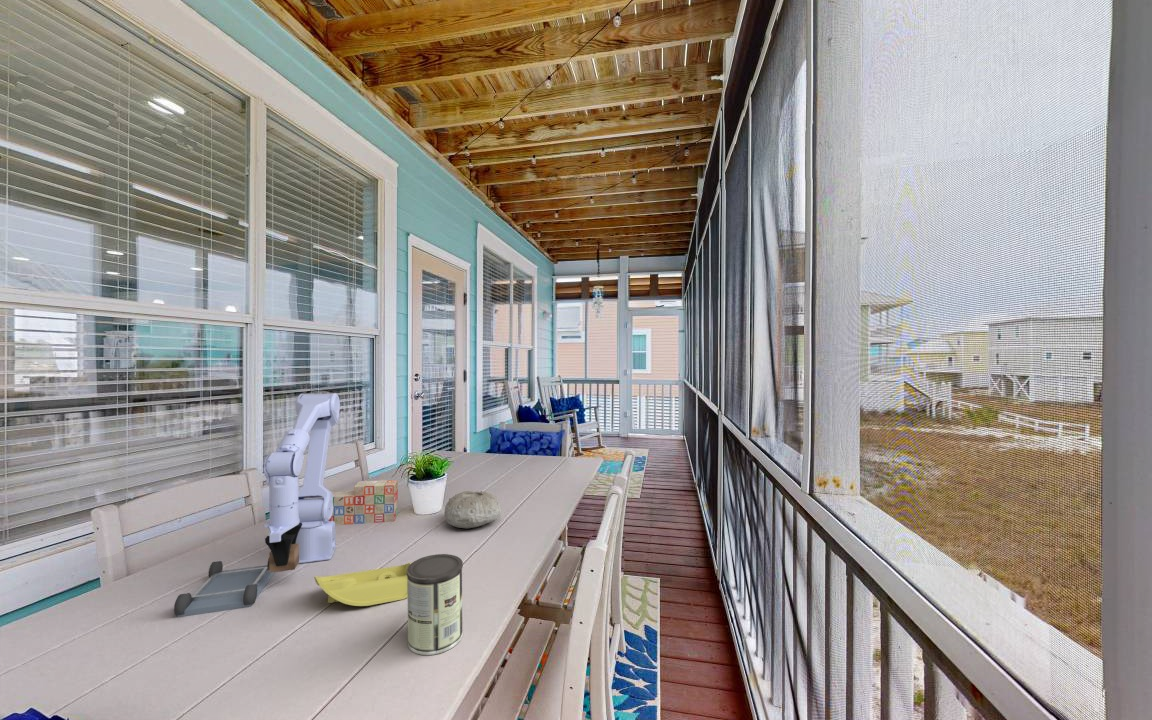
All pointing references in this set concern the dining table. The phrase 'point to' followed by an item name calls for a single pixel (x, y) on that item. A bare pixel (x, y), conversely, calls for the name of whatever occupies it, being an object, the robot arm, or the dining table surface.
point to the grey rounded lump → (472, 509)
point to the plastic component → (366, 586)
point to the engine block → (292, 560)
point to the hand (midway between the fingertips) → (284, 560)
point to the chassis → (224, 590)
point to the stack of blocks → (366, 503)
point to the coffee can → (434, 604)
